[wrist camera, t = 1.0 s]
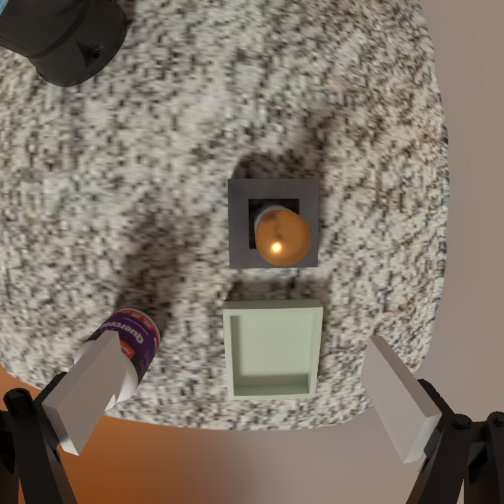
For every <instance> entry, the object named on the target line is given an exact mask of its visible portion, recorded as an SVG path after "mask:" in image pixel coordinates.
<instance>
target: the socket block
mask: <svg viewBox="0 0 504 504" xmlns="http://www.w3.org/2000/svg"><path fill="white" fill-rule="evenodd" d="M249 199H295V213H296V214H298V215H299V216H301V217H302V218H303V219H304V220H305V221H306V223H307V224H308V226H309V228H310V231H311V245H310V248H309V250H308V252H307V254H306V255H305V256H304V257H303V258H302V259H301V260H300V261H299V262H297V263H295V264H293V265H290V266H276V265H273V264H271V263H269V262H267V261H266V260H265V259H264V258H263V257H262V256H261V255H260V253H259V251H258V249H257V247H256V244H249ZM228 217H229V257H230V269H234V268H301V267H317V262H318V227H319V179H228Z"/></svg>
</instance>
